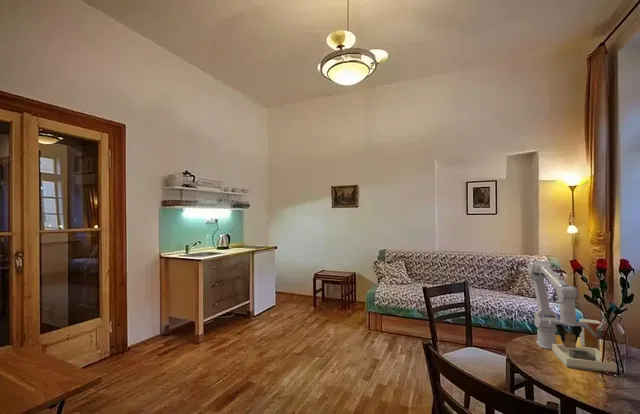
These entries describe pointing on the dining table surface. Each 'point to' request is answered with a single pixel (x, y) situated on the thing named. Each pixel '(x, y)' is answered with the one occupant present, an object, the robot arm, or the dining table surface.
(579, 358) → the cream square tray
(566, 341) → the peg
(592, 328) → the small box
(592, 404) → the dining table surface
